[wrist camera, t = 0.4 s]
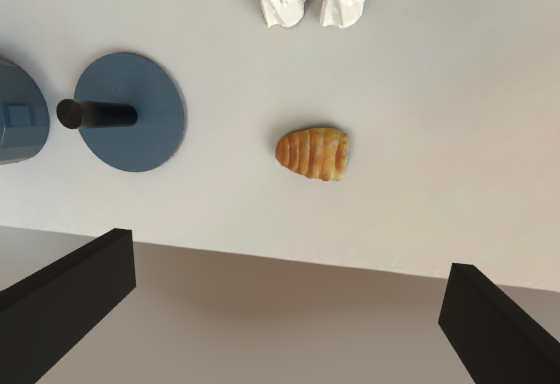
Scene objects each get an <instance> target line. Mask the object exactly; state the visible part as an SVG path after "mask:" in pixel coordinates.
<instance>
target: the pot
mask: <svg viewBox="0 0 560 384" xmlns="http://www.w3.org/2000/svg"><path fill="white" fill-rule="evenodd" d="M48 132H49V113H48V108H47V105H46V102H45V99H44V97H43V95H42V93H41V91H40V89H39V88H38V86H37V85H36V83H35V82H34V81H33V79H32V78H31V77H30V76H29V75H28V74H27V73H26V72H25V71H24V70H22V69H21V68H20V67H18V66H17V65H15V64H13V63H11V62H9V61H7V60H4V59H2V58H0V165H3V164H10V163H17V162H20V161H23V160H27V159H29V158H31V157H33V156H34V155H36V154H37V153H38V152H39V151H40V150H41V148H42V147H43V146H44V144H45V142H46V139H47V136H48Z"/></svg>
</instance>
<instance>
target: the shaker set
mask: <svg viewBox="0 0 560 384" xmlns="http://www.w3.org/2000/svg"><path fill="white" fill-rule="evenodd" d="M281 1H282V3H281ZM286 1H287V2H286ZM304 1H305V0H260V2H261V7H262V10H263V14H264V18H265V21H266V25H267V26H268V27H270V26H271V25H274V24H280V25H281V26H283V27H290V26H292V25H295V24H296V23H297V22H298V21H299V20H300V19H301V17H303V15H304V12H303V10H304ZM364 1H365V0H323V4H322V10H321V17H320V24H321V26H322V27H325V26H327V25H335V26H337V27H339V28H346V27H349V26H351V25H352V24H354V23H355V22H356V21H357V20H358V19H359V17H360V16H361V15H362V10H363V4H364Z"/></svg>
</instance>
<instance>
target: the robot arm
mask: <svg viewBox="0 0 560 384" xmlns="http://www.w3.org/2000/svg"><path fill="white" fill-rule="evenodd" d="M135 287H136V279H135V266H134V253H133V240H132V230H127V229H118V228H114V229H113V230H111V231H109V232H107V233H105V234H104V235H102V236H100V237H98V238H96V239H95V240H93V241H91V242H89V243H87V244H86V245H84V246H82V247H80V248H78V249H77V250H75V251H73V252H71V253H70V254H68V255H66V256H64V257H62V258H60V259H59V260H57V261H55V262H53V263H52V264H50V265H48V266H46V267H44V268H43V269H41V270H39V271H37V272H35V273H34V274H32V275H30V276H28V277H26V278H25V279H23V280H21V281H19V282H17V283H16V284H14V285H12V286H10V287H9V288H7V289H5V290H2V291H0V384H35V383H36V382H37V381H38V380H39V379H40V378H41V377H42V376H43V375H44V374H45V373H46V372H47V371H49V369H50V368H52V367H53V366H54V365H55V364H56V363H57V362H58V361H59V360H60V359H61V358H62V357H63V356H64V355H65V354H66V353H67V352H68V351H69V350H70V349H71V348H73V346H74V345H76V344H77V343H78V342H79V341H80V340H81V339H82V338H83V337H84V336H85V335H86V334H87V333H88V332H89V331H90V330H91V329H92V328H93V327H94V326H96V325H97V324H98V323H99V322H100V321H101V320H102V319H103V318H104V317H105V316H106V315H107V314H108V313H109V312H110V311H111V310H112V309H113V308H114V307H115V306H116V305H117V304H118V303H120V302H121V300H123V299H124V298H125V297H126V296H127V295H128V294H129V293H130V292H131V291H132V290H133V289H134V288H135ZM438 324H439V325H440V327H441V329H442V330H443V332H444V334H445V335H446V337H447V338H448V340H449V342H450V343H451V345H452V346H453V348H454V350H455V351H456V353H457V354H458V356H459V358H460V359H461V361H462V363H463V364H464V366H465V367H466V369H467V371H468V372H469V374H470V376H471V377H472V379H473V380H474V382H475V383H476V384H560V343H559V342H558V341H557V340H556V339H555V338H554V337H552V336H551V335H550V334H549V333H548V332H547V331H546V330H545V329H543V327H541V326H540V325H539V324H538V323H537V322H536V321H535V320H534V319H532V318H531V317H530V316H529V315H528V314H527V313H526V312H525V311H524V310H523V309H521V308H520V307H519V306H518V305H517V304H516V303H515V302H514V301H513V300H512V299H510V298H509V297H508V296H507V295H506V294H505V293H504V292H503V291H501V290H500V289H499V288H498V287H497V286H496V285H495V284H494V283H493V282H492V281H491V280H489V279H488V278H487V277H486V276H485V275H484V274H483V273H482V272H481V271H479V270H478V269H477V268H476V267H475V266H474V265H470V264H460V263H452V266H451V271H450V275H449V279H448V283H447V287H446V292H445V296H444V300H443V304H442V309H441V312H440V316H439V321H438Z"/></svg>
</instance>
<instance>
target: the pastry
mask: <svg viewBox="0 0 560 384" xmlns="http://www.w3.org/2000/svg"><path fill="white" fill-rule="evenodd" d="M349 144H350V139H349V136H348V135H347V134H346V133H343V132H340V131H338V130H337V129H334V128H312V129H307V130H303V131H299V132H294V133H291V134H287V135H285V136H284V137H283V138H282V139H281V140H280V141H279V142H278V144H277V149H276V158H277V160H278V161H279V162H280V164H281V165H282V166H284V167H286V168H288V169H290V170H291V171H293V172H295V173H298V174H301V175H304V176H306V177H307V178H309V179H313V178H316V179H322V180H323V181H330V180H335V181H340V180H341V179H342V178H343V176H344V173H345V166H346V162H347V158H348V149H349Z"/></svg>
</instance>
